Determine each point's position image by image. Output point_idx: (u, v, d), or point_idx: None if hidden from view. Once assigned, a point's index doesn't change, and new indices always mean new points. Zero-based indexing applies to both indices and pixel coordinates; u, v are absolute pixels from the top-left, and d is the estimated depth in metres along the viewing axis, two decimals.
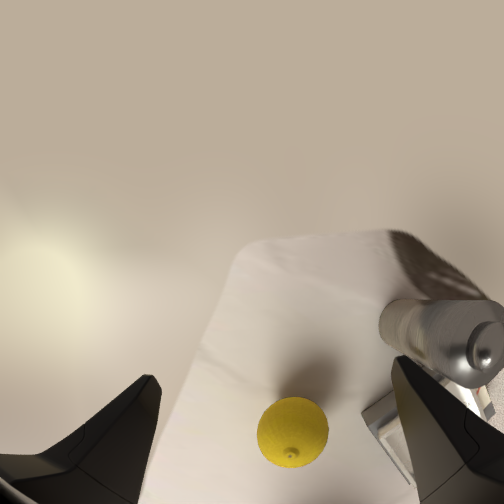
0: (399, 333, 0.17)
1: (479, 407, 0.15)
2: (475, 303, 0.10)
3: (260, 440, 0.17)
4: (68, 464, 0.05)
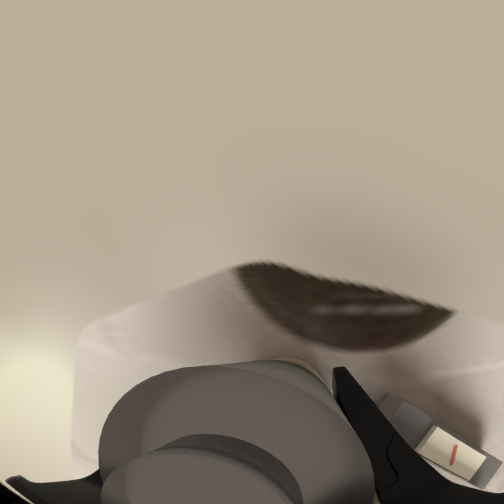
0: None
1: (458, 483, 0.07)
2: (148, 381, 0.04)
3: None
4: None
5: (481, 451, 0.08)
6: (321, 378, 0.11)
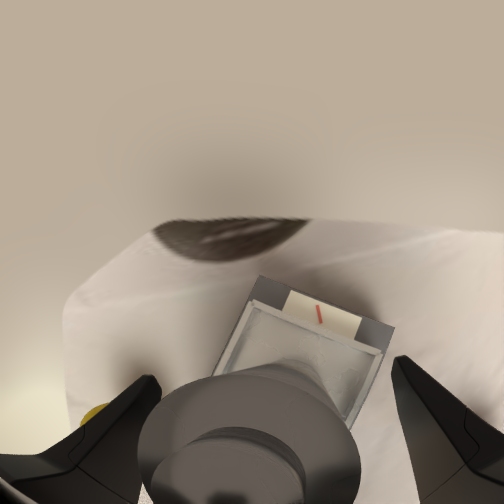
0: None
1: (325, 333, 0.16)
2: None
3: None
4: (68, 464, 0.05)
5: (357, 314, 0.17)
6: (320, 379, 0.12)
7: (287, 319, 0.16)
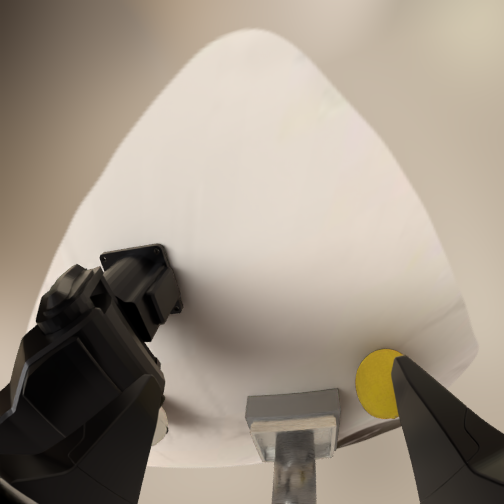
0: (310, 474, 0.21)
1: None
2: None
3: None
4: (68, 464, 0.05)
5: None
6: None
7: None
